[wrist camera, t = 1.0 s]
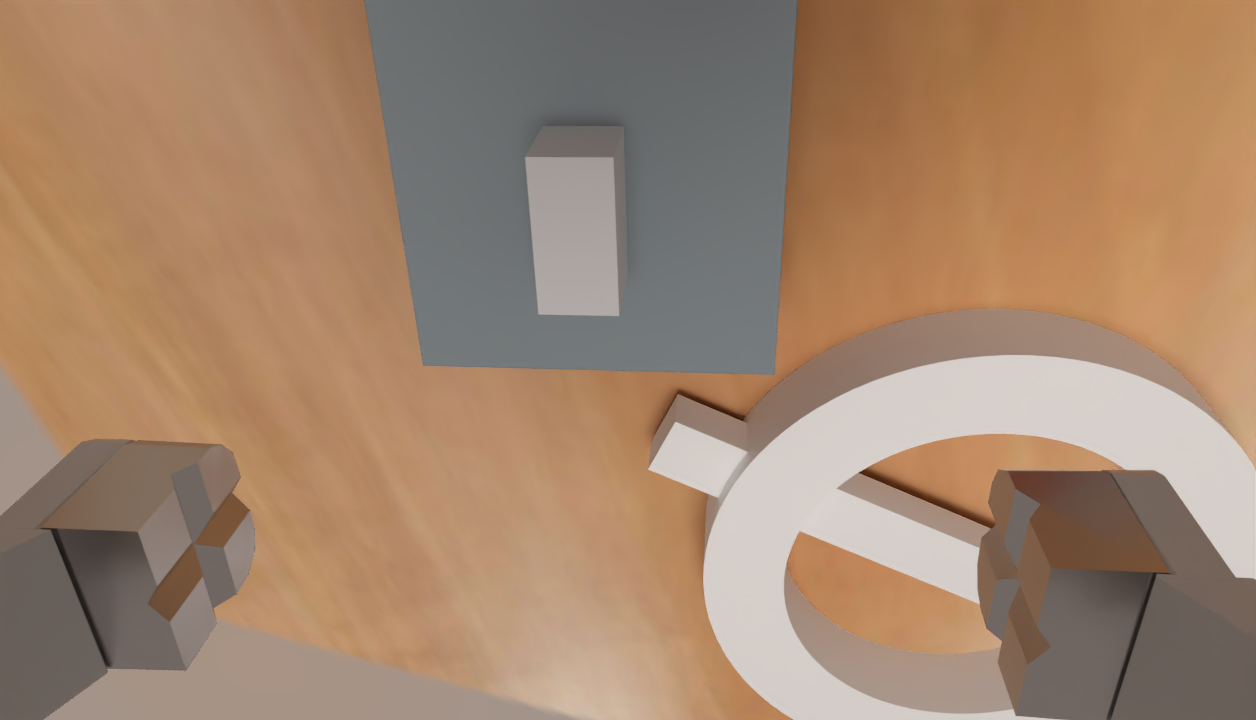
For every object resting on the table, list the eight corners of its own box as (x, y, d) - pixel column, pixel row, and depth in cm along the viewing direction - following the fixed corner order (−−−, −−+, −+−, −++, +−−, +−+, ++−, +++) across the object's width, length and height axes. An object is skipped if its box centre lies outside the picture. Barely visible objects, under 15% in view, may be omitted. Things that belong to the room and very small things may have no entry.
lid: (380, -11, 35) (327, 19, 30) (794, -16, 33) (804, 14, 29) (434, 344, 42) (398, 411, 38) (772, 353, 41) (777, 422, 36)
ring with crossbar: (633, 392, 50) (625, 445, 46) (1203, 231, 43) (1252, 277, 39) (786, 728, 63) (790, 792, 59) (1247, 648, 56) (1287, 716, 52)
